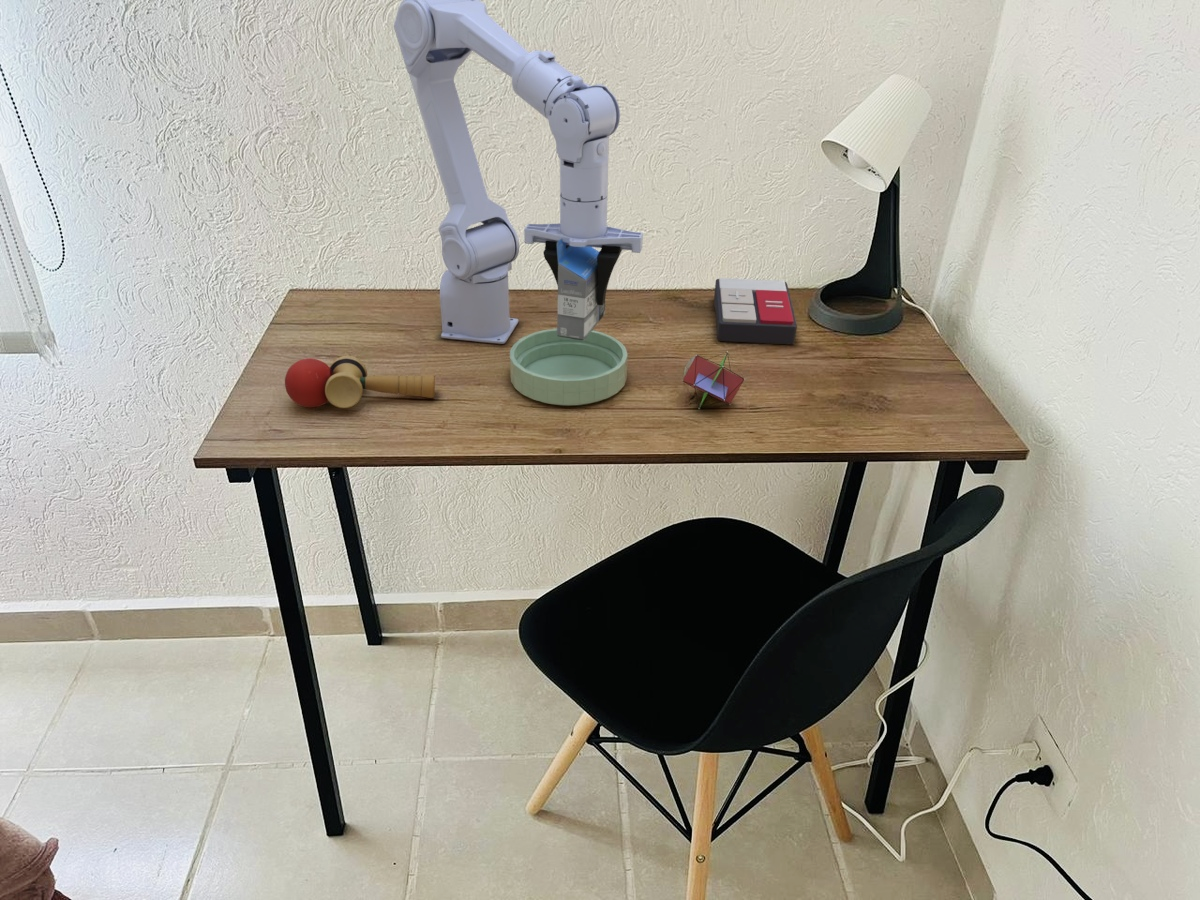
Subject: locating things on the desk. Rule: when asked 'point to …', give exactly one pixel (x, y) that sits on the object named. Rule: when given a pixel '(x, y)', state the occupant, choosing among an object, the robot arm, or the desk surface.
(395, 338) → the desk surface
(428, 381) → the kendama
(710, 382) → the geometric puzzle
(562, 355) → the bowl
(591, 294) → the tape cartridge
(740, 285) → the calculator
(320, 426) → the desk surface
